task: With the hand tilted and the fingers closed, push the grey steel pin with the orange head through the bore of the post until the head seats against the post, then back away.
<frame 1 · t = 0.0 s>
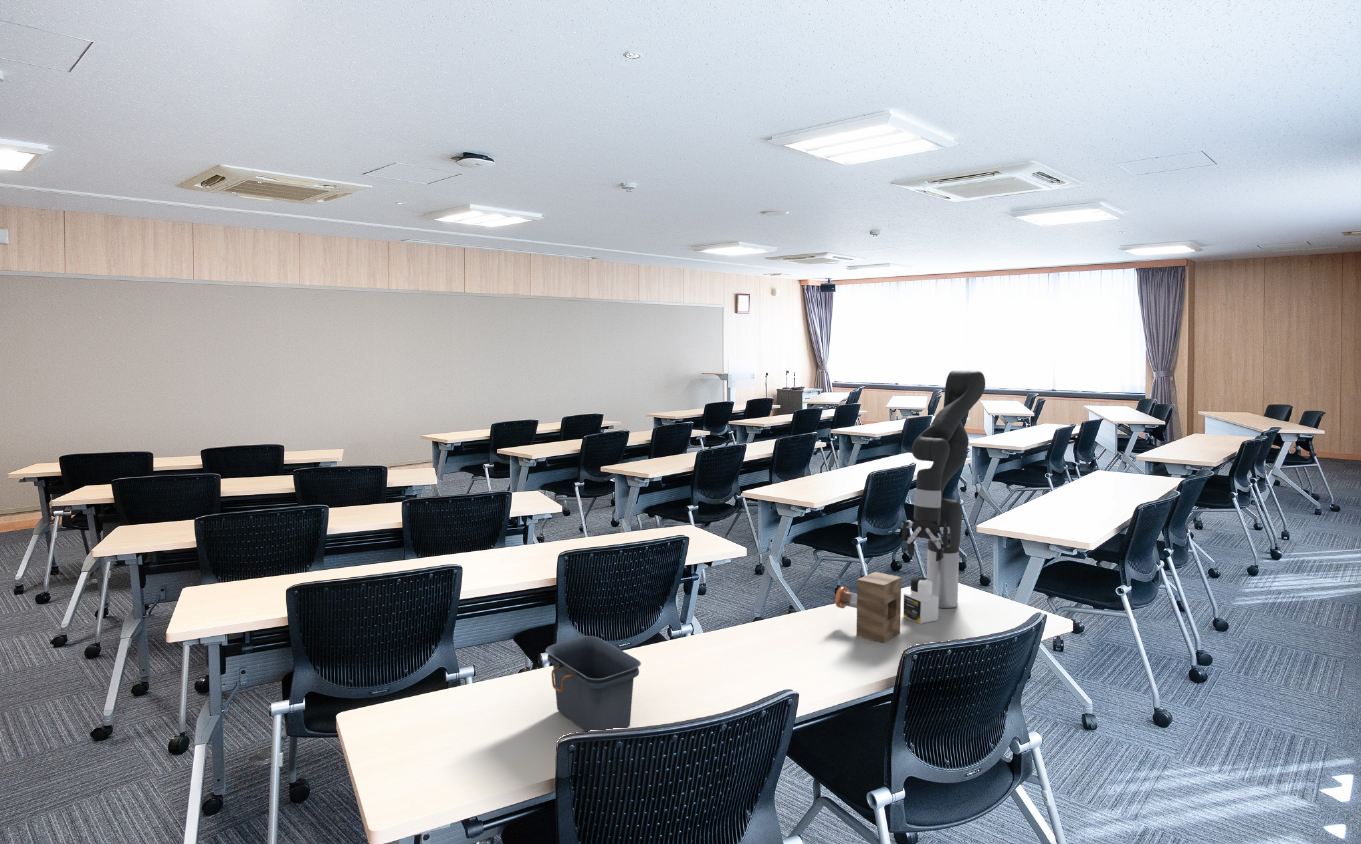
hand: (924, 558, 222), 17 cm above the table, tool pointing down, fingers open, 8 cm apart
pin: (860, 601, 211), point 8 cm above the table, slide at 7.0 cm
medicine bottle: (920, 619, 221), on the table
post: (878, 634, 208), on the table
storage bin: (589, 722, 159), on the table
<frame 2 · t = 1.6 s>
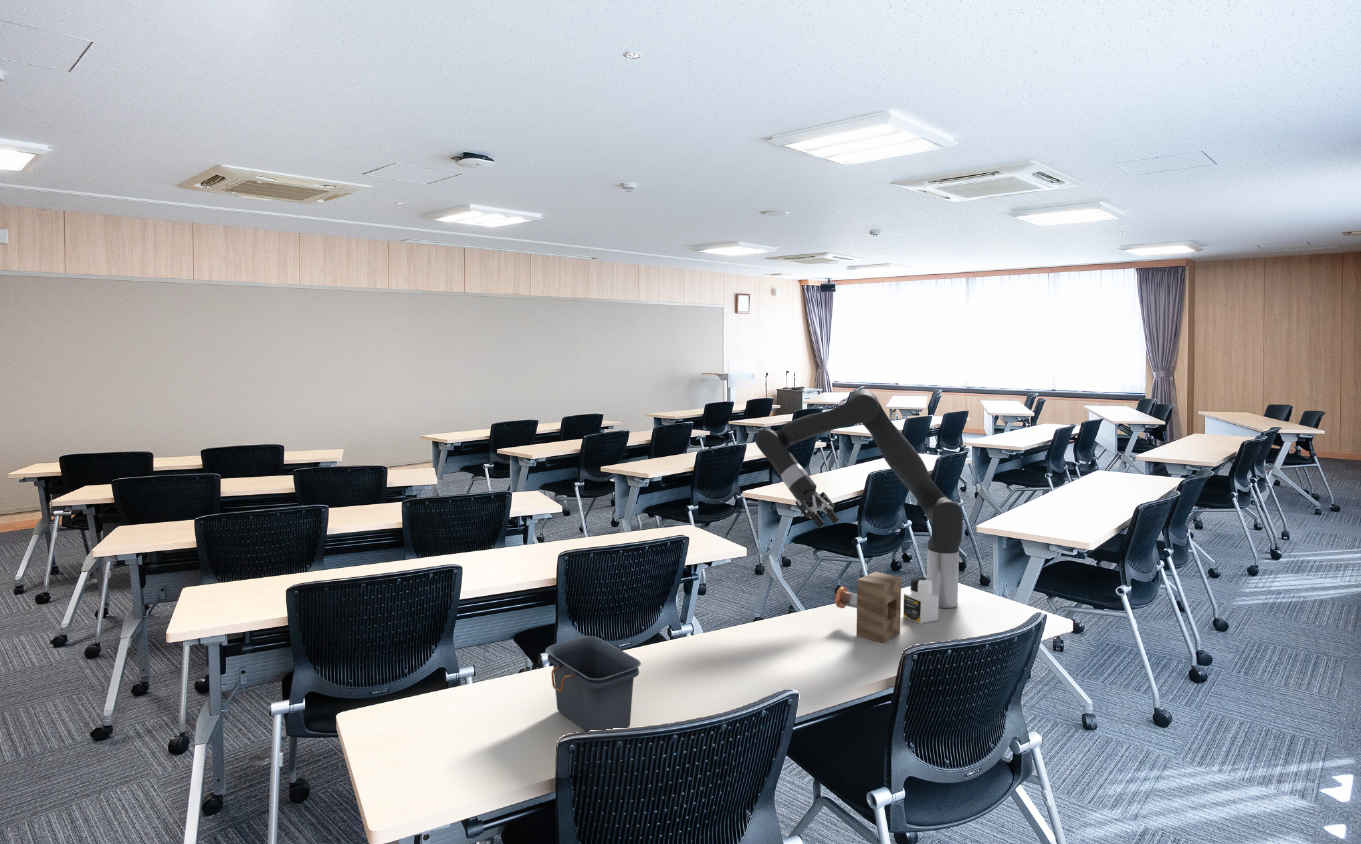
hand: (829, 524, 224), 27 cm above the table, tool tilted 45°, fingers open, 8 cm apart
nothing on the table moved.
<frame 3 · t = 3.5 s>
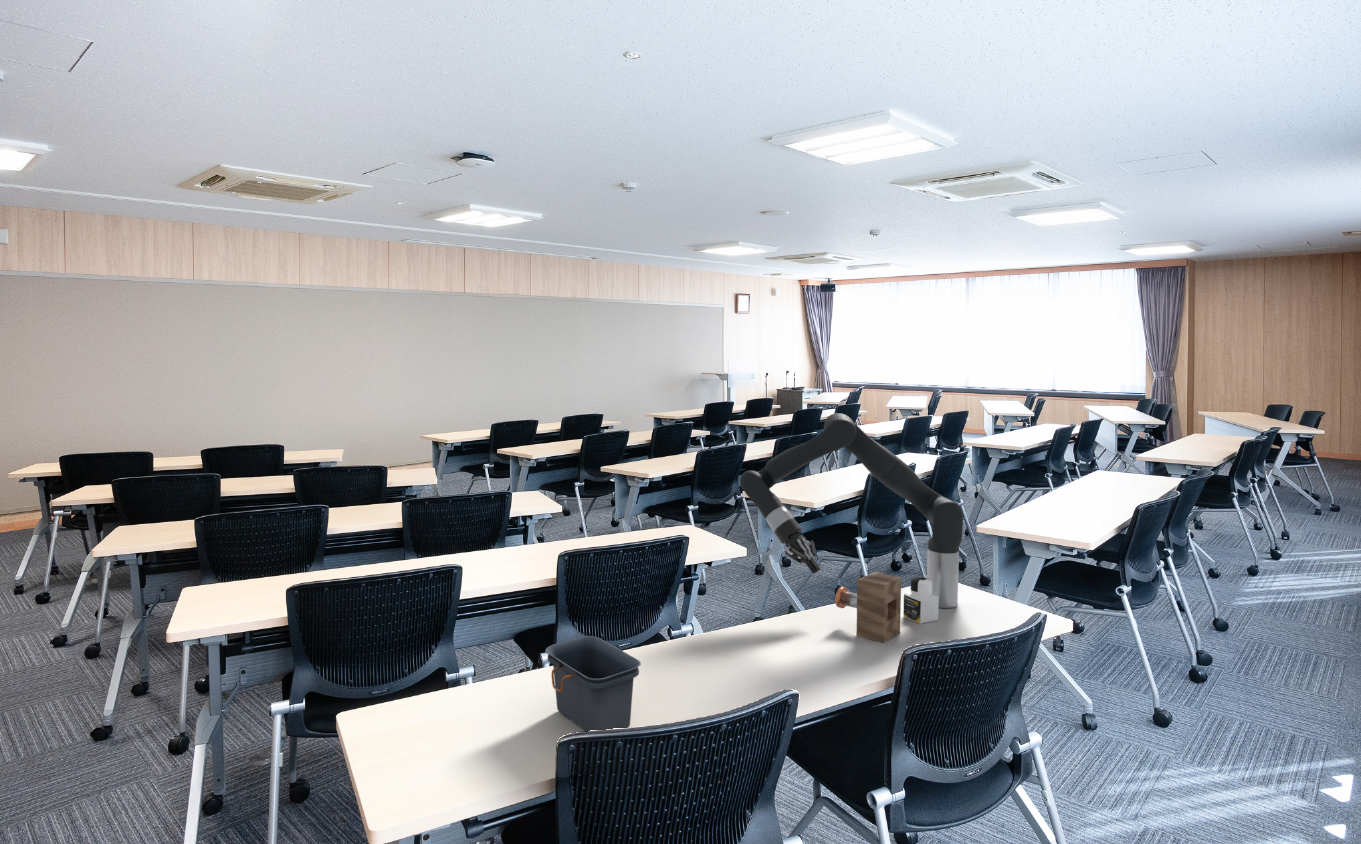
hand: (817, 571, 221), 14 cm above the table, tool tilted 45°, fingers closed
nothing on the table moved.
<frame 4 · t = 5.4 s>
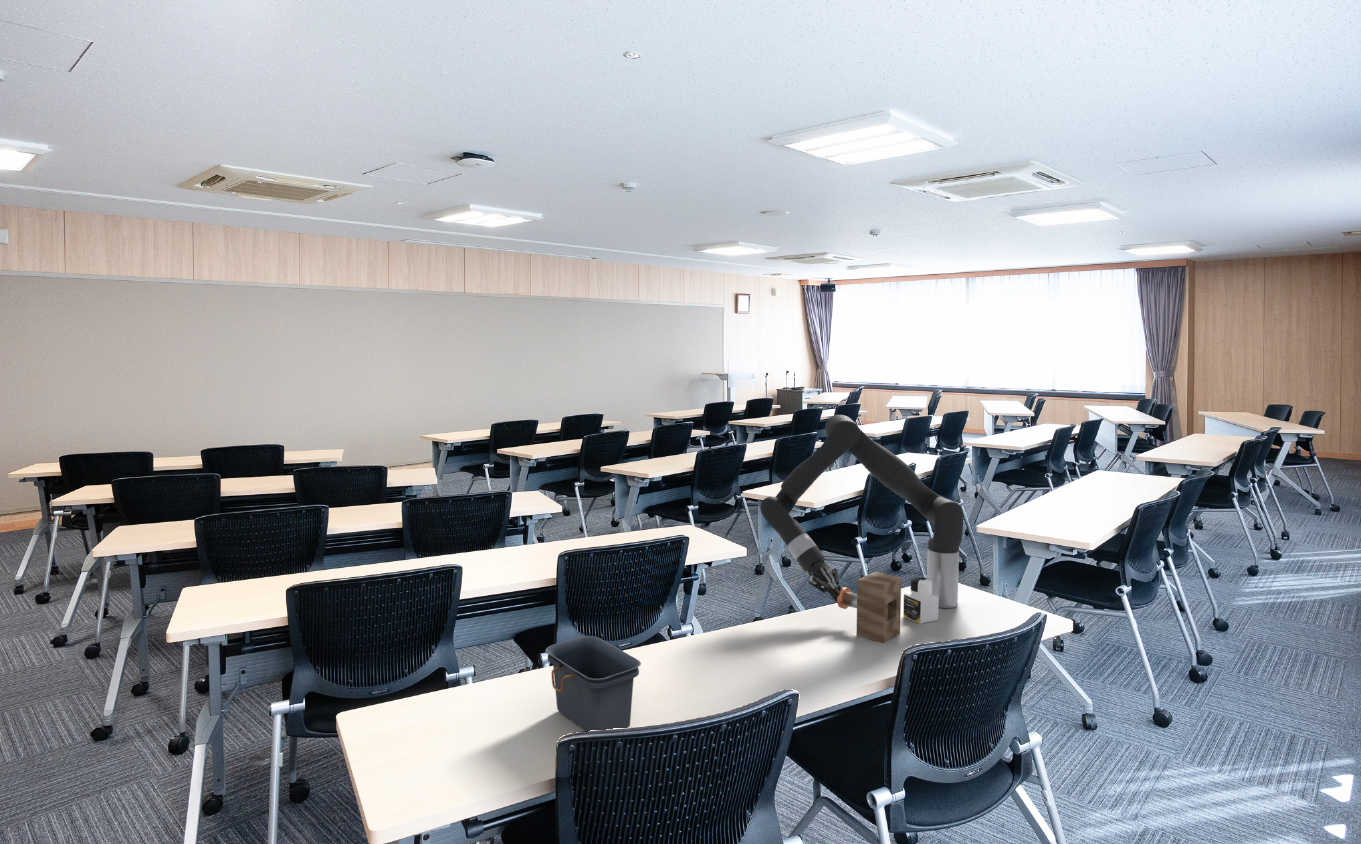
hand: (841, 601, 216), 7 cm above the table, tool tilted 45°, fingers closed
pin: (863, 602, 211), point 8 cm above the table, slide at 6.2 cm, touching gripper
everything else where it was.
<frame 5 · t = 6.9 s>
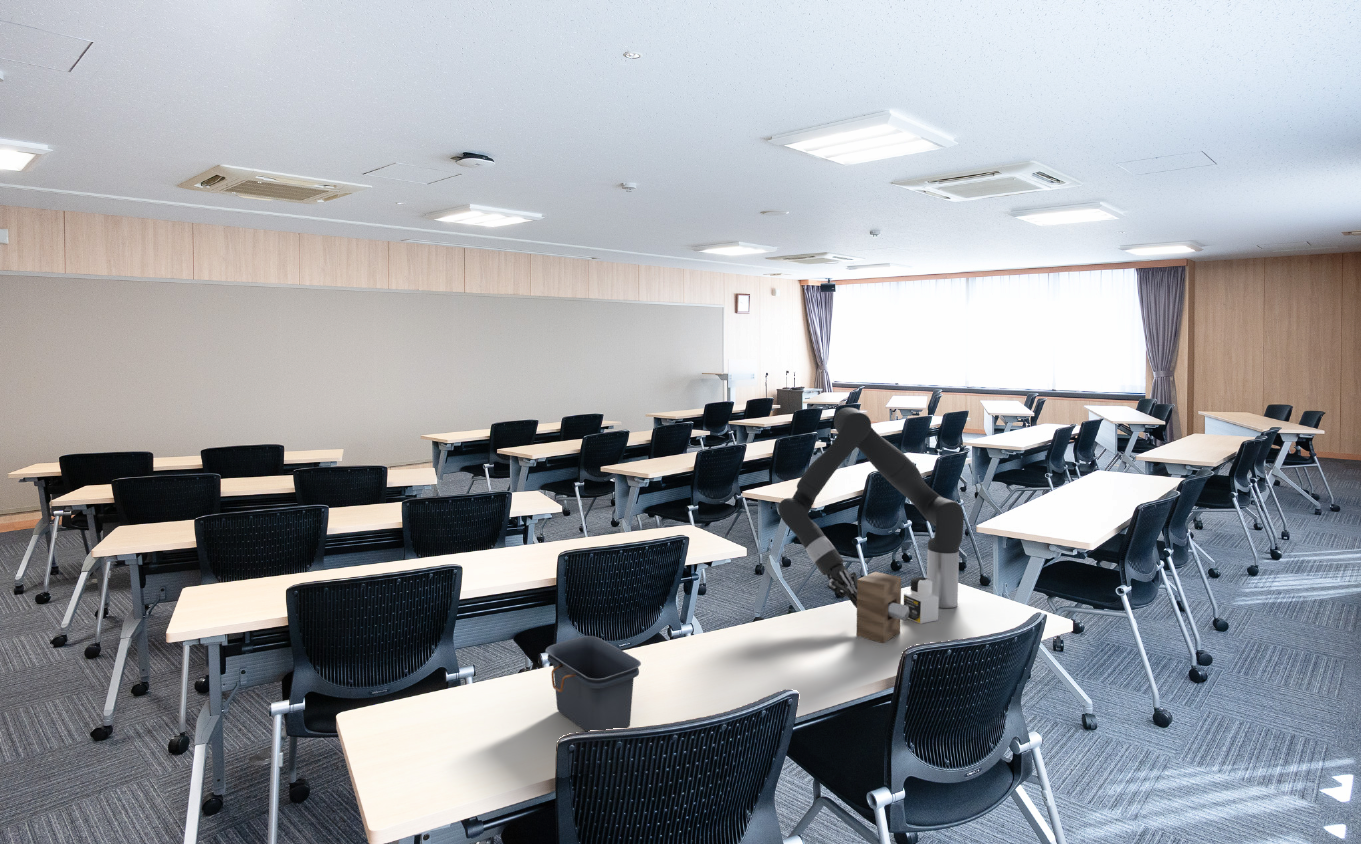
hand: (860, 605, 211), 7 cm above the table, tool tilted 45°, fingers closed
pin: (883, 607, 206), point 8 cm above the table, slide at 0.0 cm, touching gripper, post
everything else where it was.
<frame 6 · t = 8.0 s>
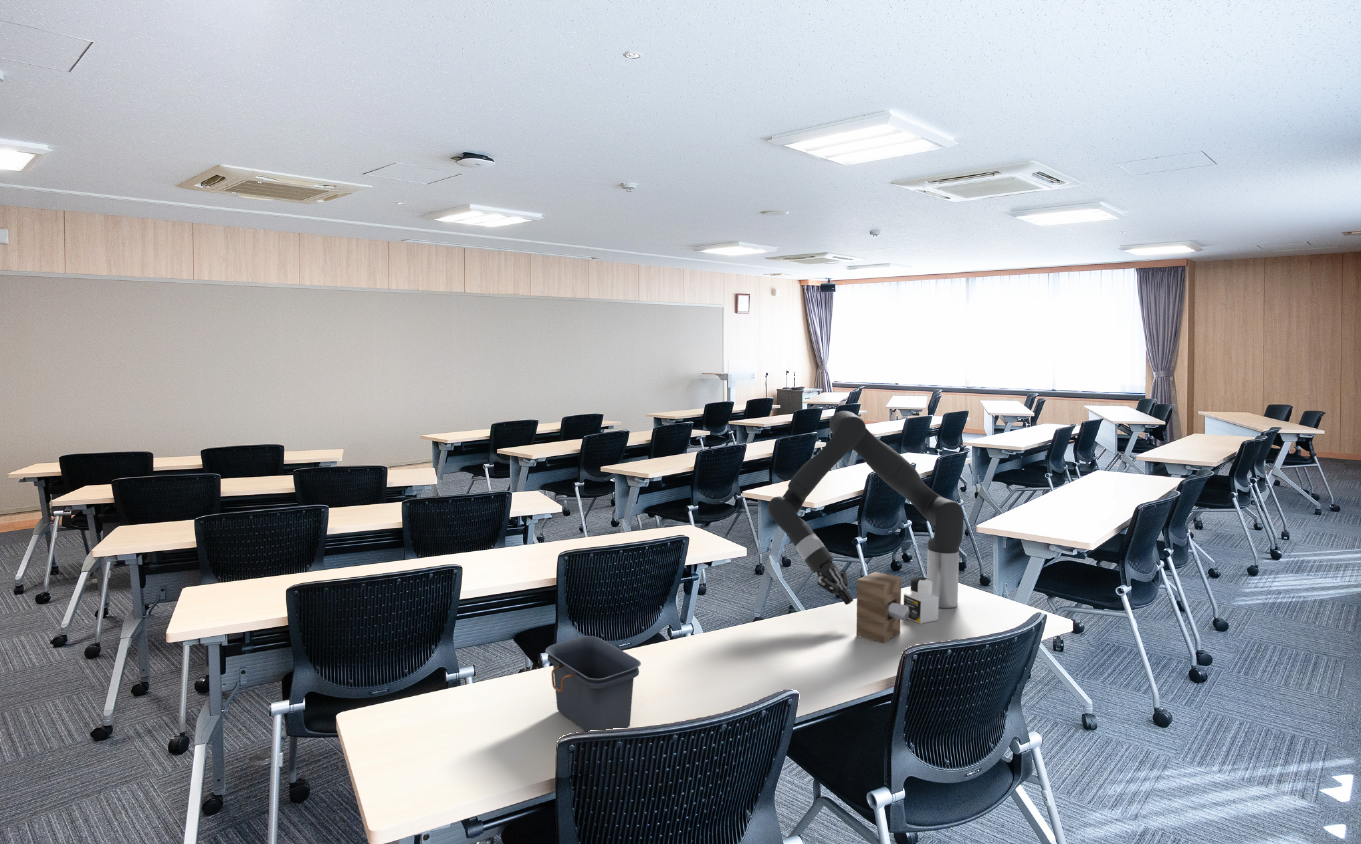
hand: (849, 602, 213), 7 cm above the table, tool tilted 45°, fingers closed
pin: (883, 607, 206), point 8 cm above the table, slide at 0.0 cm, touching post
everything else where it was.
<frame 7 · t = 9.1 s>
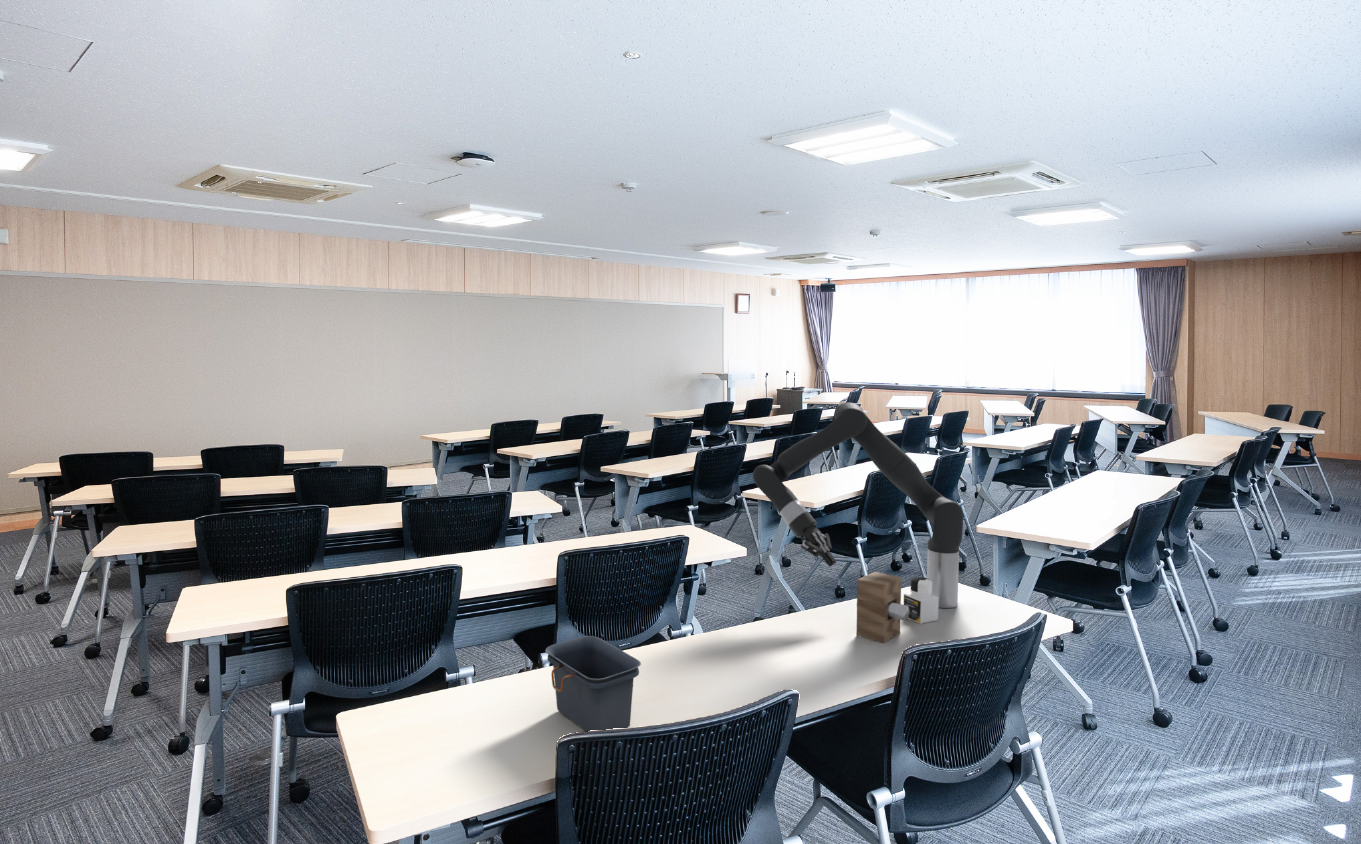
hand: (833, 564, 220), 16 cm above the table, tool tilted 45°, fingers closed
nothing on the table moved.
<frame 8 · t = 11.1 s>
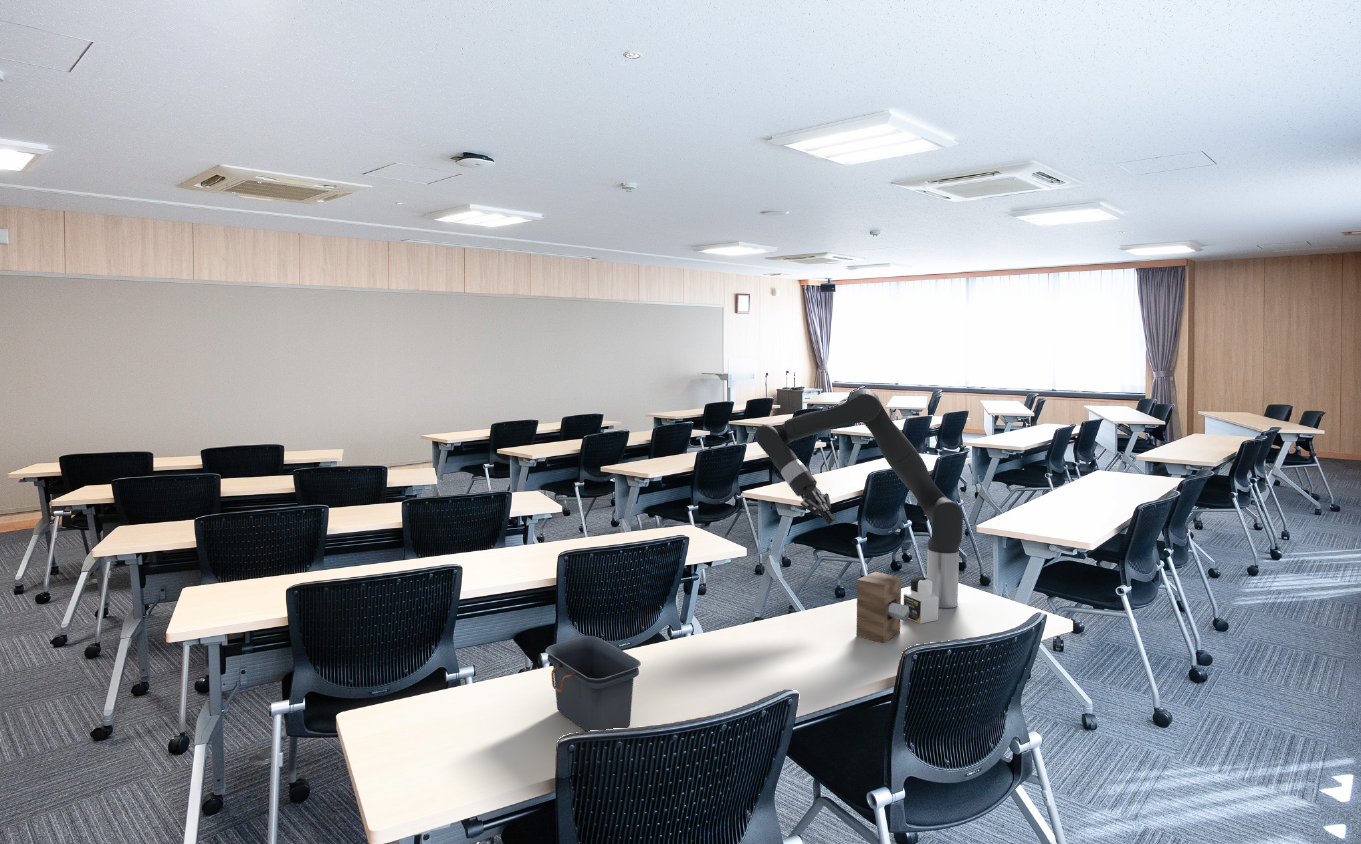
hand: (832, 522, 223), 28 cm above the table, tool tilted 45°, fingers closed
nothing on the table moved.
at the end: pin slide at 0.0 cm; pin 0.0 cm from the target spot, resting on post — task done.
